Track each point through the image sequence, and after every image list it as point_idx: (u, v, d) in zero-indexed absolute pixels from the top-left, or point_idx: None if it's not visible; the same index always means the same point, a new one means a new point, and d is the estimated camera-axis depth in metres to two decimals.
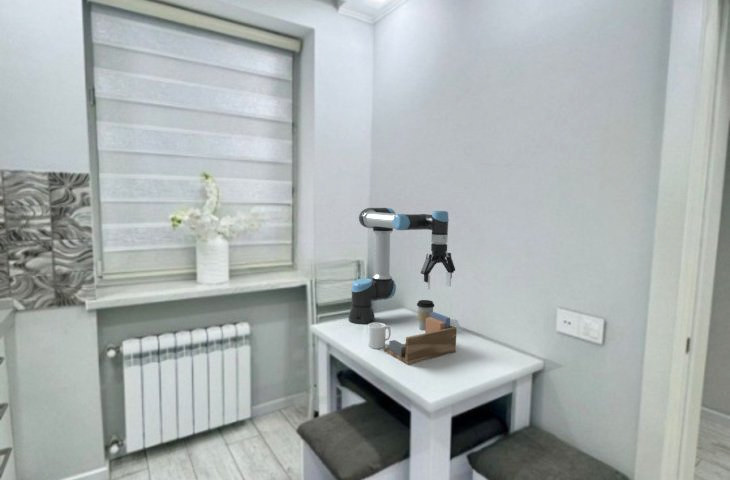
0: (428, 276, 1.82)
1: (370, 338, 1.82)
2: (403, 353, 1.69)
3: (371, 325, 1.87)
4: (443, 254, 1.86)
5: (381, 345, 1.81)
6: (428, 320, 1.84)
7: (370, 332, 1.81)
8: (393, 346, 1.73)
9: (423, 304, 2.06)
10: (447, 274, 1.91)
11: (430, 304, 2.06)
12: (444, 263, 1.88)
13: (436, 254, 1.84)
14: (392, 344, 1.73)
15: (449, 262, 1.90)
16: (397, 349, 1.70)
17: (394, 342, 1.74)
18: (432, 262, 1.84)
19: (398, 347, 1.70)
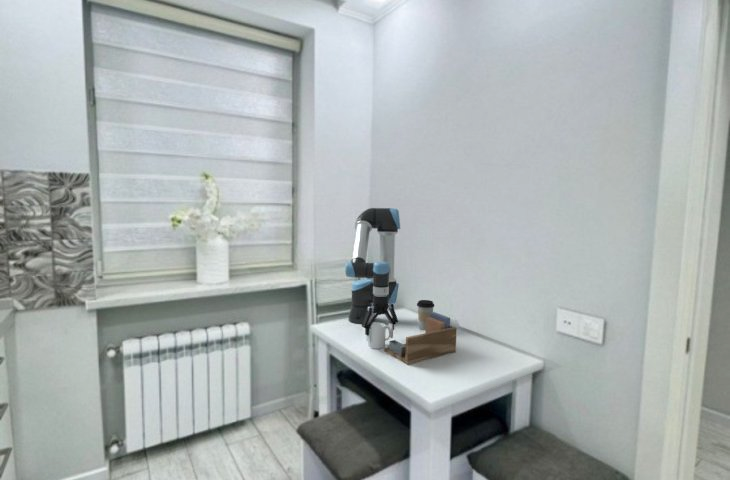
0: (369, 329, 1.81)
1: None
2: (403, 353, 1.69)
3: (371, 325, 1.87)
4: (385, 305, 1.84)
5: (381, 345, 1.81)
6: (428, 320, 1.84)
7: None
8: (393, 346, 1.73)
9: (423, 304, 2.06)
10: (389, 325, 1.88)
11: (430, 304, 2.06)
12: (386, 314, 1.86)
13: (377, 306, 1.82)
14: (392, 344, 1.73)
15: (392, 313, 1.88)
16: (397, 349, 1.70)
17: (394, 342, 1.74)
18: (373, 315, 1.82)
19: (398, 347, 1.70)
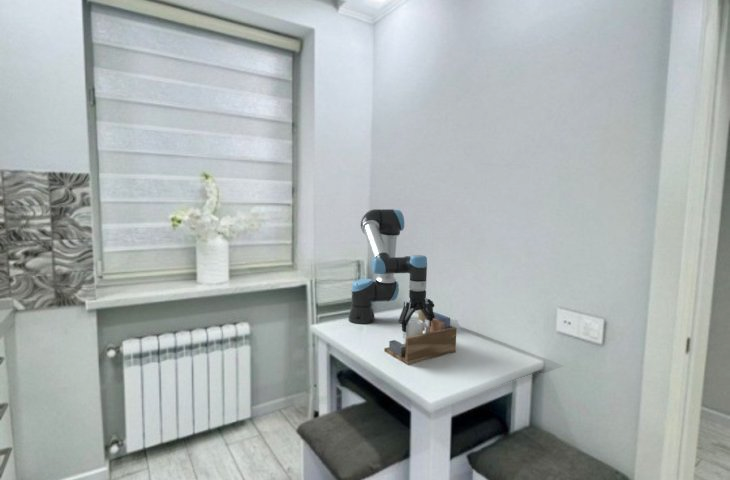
0: (406, 326, 1.72)
1: None
2: (403, 353, 1.69)
3: None
4: (422, 301, 1.76)
5: None
6: None
7: None
8: (393, 346, 1.73)
9: None
10: (426, 322, 1.80)
11: None
12: (423, 310, 1.78)
13: (414, 301, 1.74)
14: (392, 344, 1.73)
15: (428, 309, 1.80)
16: (397, 349, 1.70)
17: (394, 342, 1.74)
18: (410, 310, 1.74)
19: (398, 347, 1.70)
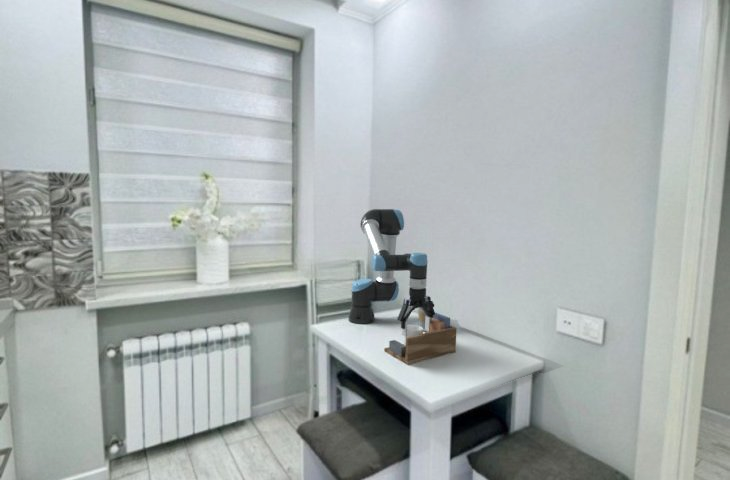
0: (405, 323, 1.73)
1: None
2: (403, 353, 1.69)
3: (407, 328, 1.79)
4: (422, 298, 1.76)
5: None
6: None
7: (407, 335, 1.73)
8: (393, 346, 1.73)
9: None
10: (426, 318, 1.81)
11: None
12: (423, 307, 1.78)
13: (414, 299, 1.74)
14: (392, 344, 1.73)
15: (428, 306, 1.80)
16: (397, 349, 1.70)
17: (394, 342, 1.74)
18: (410, 307, 1.74)
19: (398, 347, 1.70)
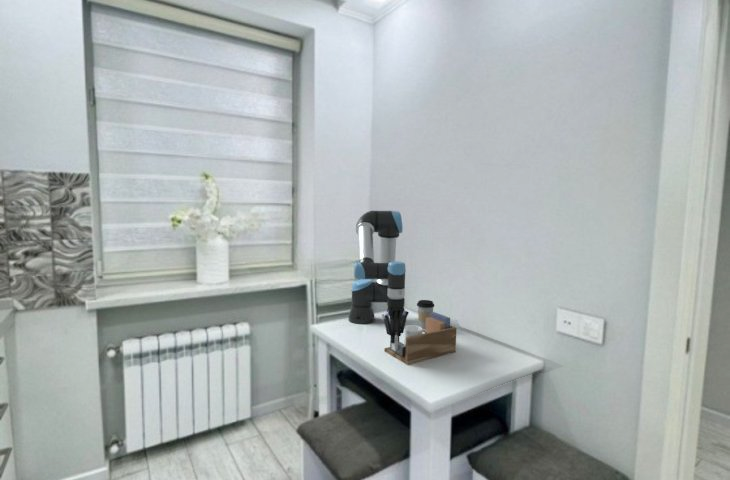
0: (395, 337, 1.70)
1: None
2: (404, 353, 1.69)
3: (407, 328, 1.79)
4: (401, 307, 1.70)
5: None
6: (428, 320, 1.84)
7: (406, 335, 1.73)
8: None
9: (423, 304, 2.06)
10: None
11: (430, 304, 2.06)
12: (397, 320, 1.71)
13: (391, 310, 1.67)
14: None
15: (402, 321, 1.72)
16: (398, 349, 1.71)
17: None
18: (392, 320, 1.69)
19: (399, 347, 1.70)
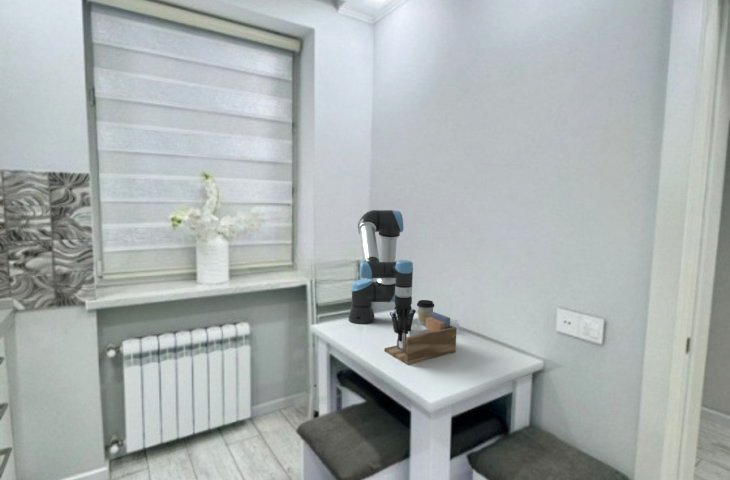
0: (402, 335, 1.72)
1: None
2: None
3: (411, 327, 1.80)
4: (409, 306, 1.72)
5: None
6: (428, 320, 1.84)
7: (410, 335, 1.74)
8: None
9: (423, 304, 2.06)
10: None
11: (430, 304, 2.06)
12: (404, 318, 1.72)
13: (398, 308, 1.69)
14: None
15: (409, 319, 1.74)
16: (405, 347, 1.73)
17: None
18: (399, 318, 1.71)
19: None
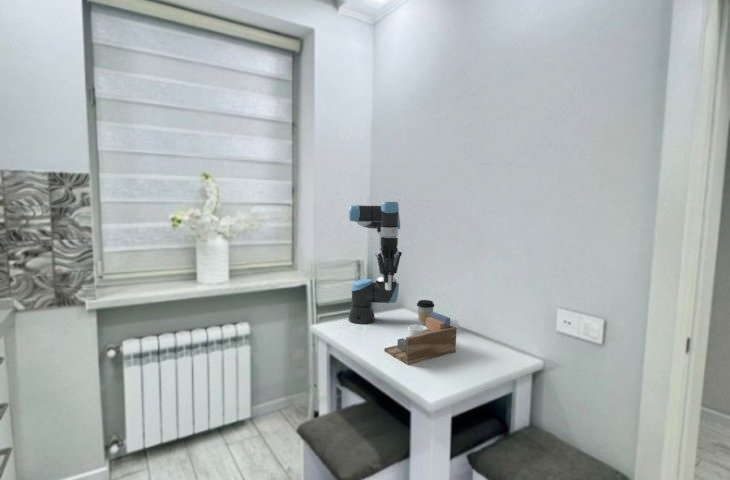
0: (388, 276, 1.71)
1: None
2: None
3: (411, 327, 1.80)
4: (394, 247, 1.71)
5: None
6: (428, 320, 1.84)
7: (411, 335, 1.74)
8: (402, 344, 1.75)
9: (423, 304, 2.06)
10: None
11: (430, 304, 2.06)
12: (390, 260, 1.72)
13: (384, 248, 1.69)
14: (400, 342, 1.76)
15: (395, 261, 1.74)
16: None
17: (402, 340, 1.76)
18: (385, 260, 1.70)
19: None
